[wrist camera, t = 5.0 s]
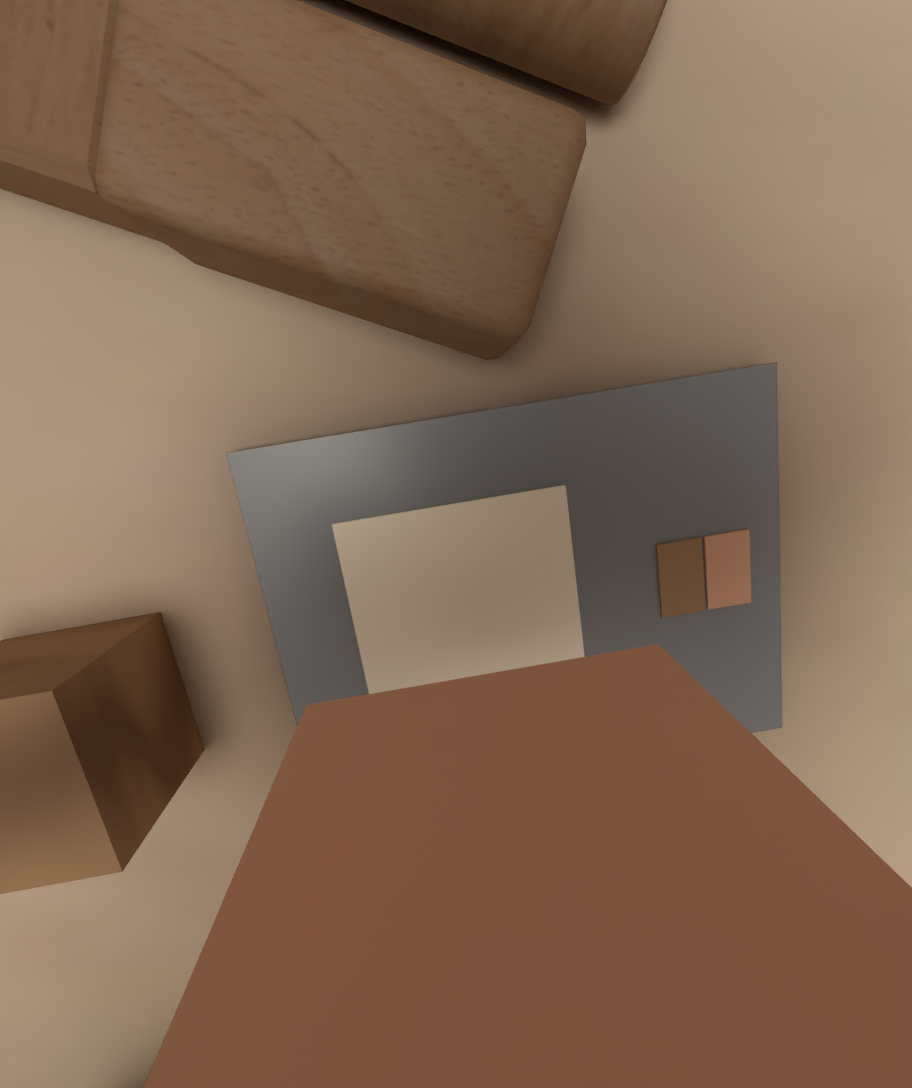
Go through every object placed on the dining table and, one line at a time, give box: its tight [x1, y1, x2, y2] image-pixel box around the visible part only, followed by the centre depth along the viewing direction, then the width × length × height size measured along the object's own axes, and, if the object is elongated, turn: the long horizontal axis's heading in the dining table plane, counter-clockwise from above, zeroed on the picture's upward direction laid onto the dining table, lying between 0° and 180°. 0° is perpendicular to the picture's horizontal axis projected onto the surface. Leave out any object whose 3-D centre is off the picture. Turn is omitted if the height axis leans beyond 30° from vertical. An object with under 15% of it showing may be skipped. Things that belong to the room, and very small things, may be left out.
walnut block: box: [0, 612, 204, 894], centre depth 15 cm, size 5×5×5 cm
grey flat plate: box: [227, 362, 782, 733], centre depth 17 cm, size 12×16×1 cm
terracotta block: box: [144, 644, 912, 1088], centre depth 6 cm, size 5×5×5 cm
